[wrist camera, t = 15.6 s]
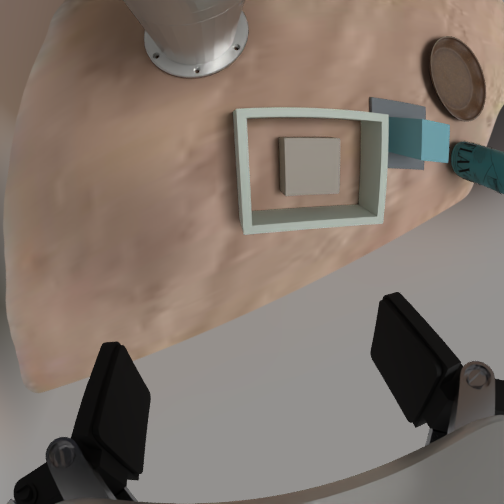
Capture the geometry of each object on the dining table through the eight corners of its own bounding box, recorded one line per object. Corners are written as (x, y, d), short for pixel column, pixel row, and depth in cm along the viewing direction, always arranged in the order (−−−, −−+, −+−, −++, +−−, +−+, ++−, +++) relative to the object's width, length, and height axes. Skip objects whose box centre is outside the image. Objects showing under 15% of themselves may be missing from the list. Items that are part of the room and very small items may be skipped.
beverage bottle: (451, 131, 36) (548, 156, 18) (471, 150, 37) (559, 180, 19) (439, 165, 38) (536, 202, 20) (460, 182, 40) (547, 222, 22)
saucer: (484, 104, 34) (495, 105, 31) (442, 133, 36) (453, 135, 33) (454, 31, 28) (464, 29, 25) (405, 49, 30) (416, 47, 27)
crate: (232, 111, 32) (236, 108, 27) (366, 114, 34) (388, 114, 29) (239, 219, 38) (243, 234, 33) (363, 210, 40) (382, 223, 35)
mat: (369, 97, 33) (371, 97, 32) (423, 106, 34) (425, 106, 33) (369, 166, 37) (371, 167, 36) (421, 169, 38) (423, 169, 37)
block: (386, 116, 33) (422, 119, 26) (413, 120, 34) (449, 124, 27) (386, 151, 35) (421, 160, 28) (412, 153, 36) (448, 162, 29)
